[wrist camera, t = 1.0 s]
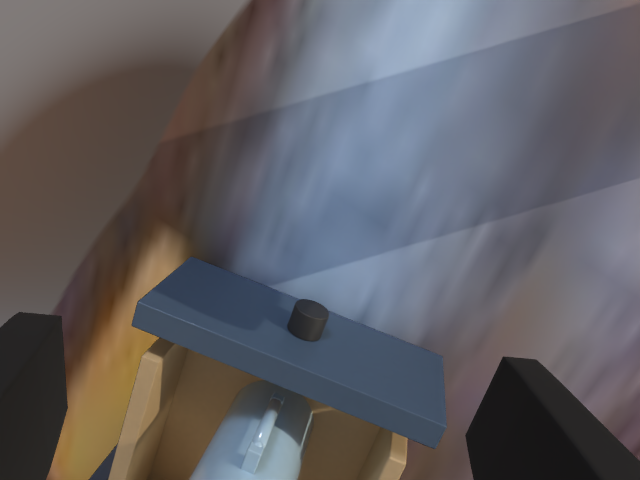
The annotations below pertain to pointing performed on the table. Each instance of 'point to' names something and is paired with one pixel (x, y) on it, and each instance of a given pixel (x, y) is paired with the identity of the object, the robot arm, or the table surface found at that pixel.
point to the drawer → (272, 379)
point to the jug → (259, 436)
